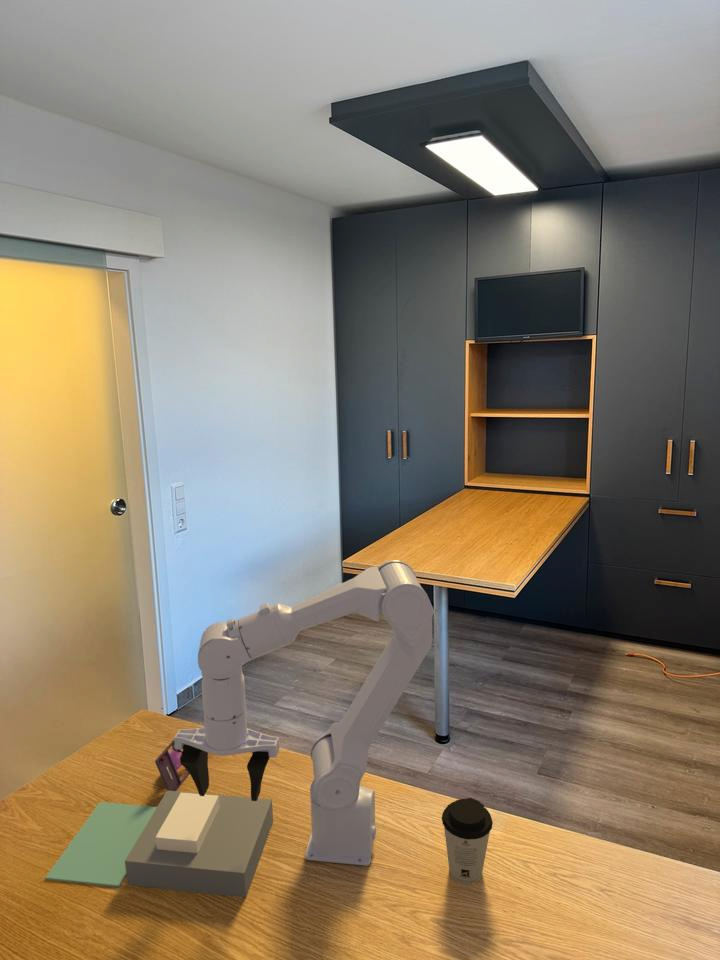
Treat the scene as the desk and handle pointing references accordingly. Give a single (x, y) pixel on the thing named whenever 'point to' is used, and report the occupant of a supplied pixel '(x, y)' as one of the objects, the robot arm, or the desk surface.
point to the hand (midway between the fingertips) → (230, 793)
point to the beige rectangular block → (188, 823)
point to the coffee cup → (466, 838)
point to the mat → (102, 845)
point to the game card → (170, 767)
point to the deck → (205, 850)
